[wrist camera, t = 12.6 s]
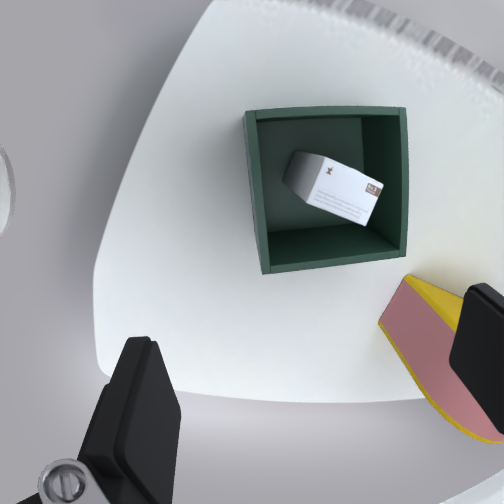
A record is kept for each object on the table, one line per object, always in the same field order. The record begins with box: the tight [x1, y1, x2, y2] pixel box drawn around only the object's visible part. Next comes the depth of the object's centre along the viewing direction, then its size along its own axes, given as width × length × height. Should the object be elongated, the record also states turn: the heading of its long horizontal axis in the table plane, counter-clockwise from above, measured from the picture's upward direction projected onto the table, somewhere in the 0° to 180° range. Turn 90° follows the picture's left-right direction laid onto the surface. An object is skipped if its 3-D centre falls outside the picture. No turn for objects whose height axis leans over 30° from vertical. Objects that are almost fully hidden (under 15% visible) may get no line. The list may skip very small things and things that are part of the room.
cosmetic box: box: [282, 150, 383, 226], centre depth 31 cm, size 6×4×12 cm
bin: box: [243, 106, 409, 275], centre depth 33 cm, size 15×15×11 cm
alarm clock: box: [378, 275, 504, 444], centre depth 34 cm, size 21×9×26 cm, turn 68°
